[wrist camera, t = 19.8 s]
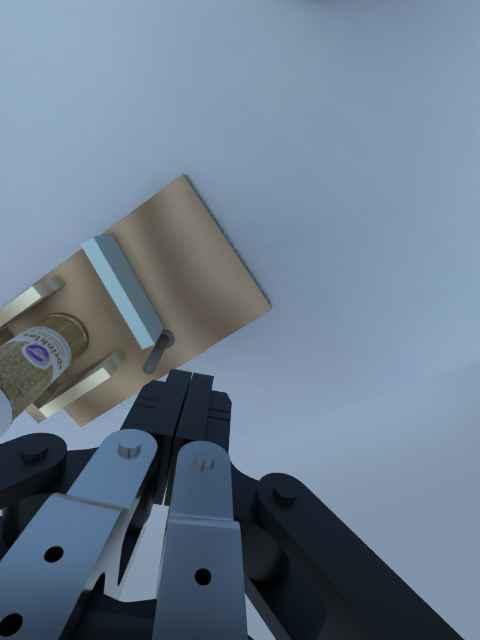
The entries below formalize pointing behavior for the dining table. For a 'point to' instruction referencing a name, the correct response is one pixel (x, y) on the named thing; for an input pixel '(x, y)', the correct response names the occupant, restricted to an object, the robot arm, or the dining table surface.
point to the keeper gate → (124, 288)
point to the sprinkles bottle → (36, 362)
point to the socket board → (163, 293)
